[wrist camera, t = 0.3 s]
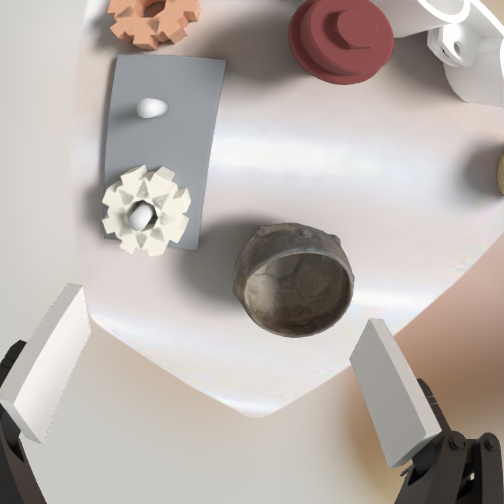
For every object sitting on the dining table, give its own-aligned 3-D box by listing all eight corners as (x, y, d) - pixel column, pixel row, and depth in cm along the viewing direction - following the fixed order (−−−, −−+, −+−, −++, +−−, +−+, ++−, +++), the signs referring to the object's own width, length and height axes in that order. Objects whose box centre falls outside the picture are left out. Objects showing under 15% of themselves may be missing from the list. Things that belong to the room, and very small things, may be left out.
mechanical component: (345, 99, 33) (268, 73, 31) (365, 33, 28) (290, 4, 27) (393, 99, 22) (285, 55, 20) (416, 12, 17) (315, -35, 16)
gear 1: (129, -18, 23) (119, -28, 20) (207, -18, 25) (204, -31, 21) (112, 50, 28) (99, 45, 24) (190, 51, 29) (185, 45, 25)
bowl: (251, 195, 38) (256, 225, 29) (356, 229, 41) (386, 263, 32) (221, 286, 44) (219, 332, 35) (317, 307, 46) (334, 352, 38)
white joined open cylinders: (347, 18, 28) (391, -10, 17) (369, -29, 24) (412, -62, 13) (478, 115, 33) (533, 128, 22) (492, 69, 29) (546, 73, 18)
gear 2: (103, 178, 34) (89, 187, 30) (177, 154, 33) (170, 160, 30) (129, 249, 38) (120, 264, 35) (200, 232, 38) (197, 246, 34)
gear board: (122, 56, 28) (97, 47, 22) (226, 62, 30) (224, 50, 23) (108, 233, 39) (86, 259, 32) (198, 246, 40) (191, 275, 34)
